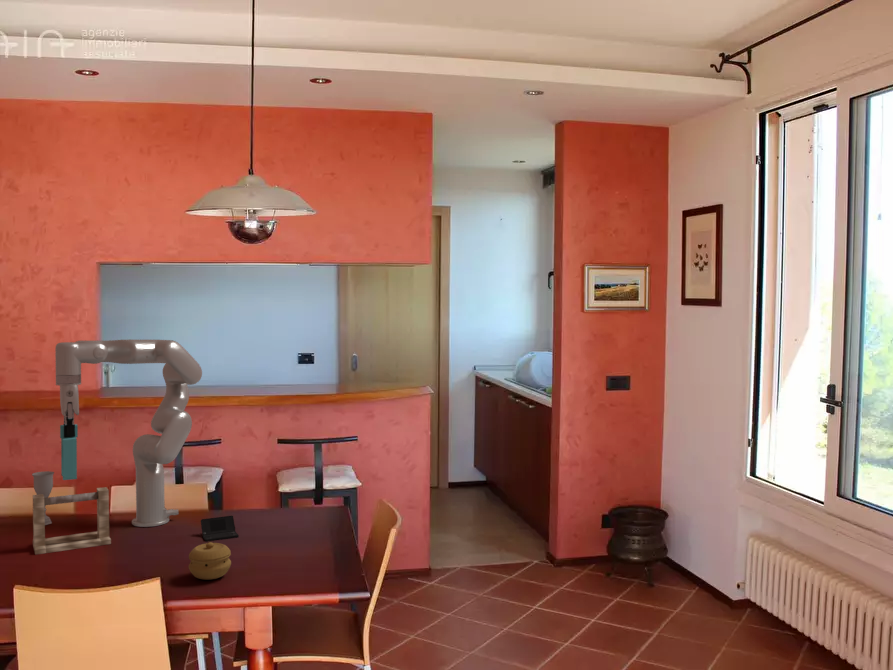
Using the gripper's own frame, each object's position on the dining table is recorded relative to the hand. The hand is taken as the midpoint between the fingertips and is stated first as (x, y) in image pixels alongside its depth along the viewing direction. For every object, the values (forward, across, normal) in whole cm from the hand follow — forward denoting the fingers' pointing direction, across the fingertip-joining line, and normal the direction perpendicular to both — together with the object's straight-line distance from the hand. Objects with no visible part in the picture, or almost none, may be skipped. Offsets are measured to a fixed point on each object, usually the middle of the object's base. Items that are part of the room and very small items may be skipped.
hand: (69, 435), depth 259 cm
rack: (+35, -2, 0) cm, 35 cm away
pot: (+35, -55, -33) cm, 73 cm away
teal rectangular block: (+13, 0, 0) cm, 13 cm away
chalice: (+35, +30, +6) cm, 47 cm away
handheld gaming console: (+36, -15, -45) cm, 59 cm away
